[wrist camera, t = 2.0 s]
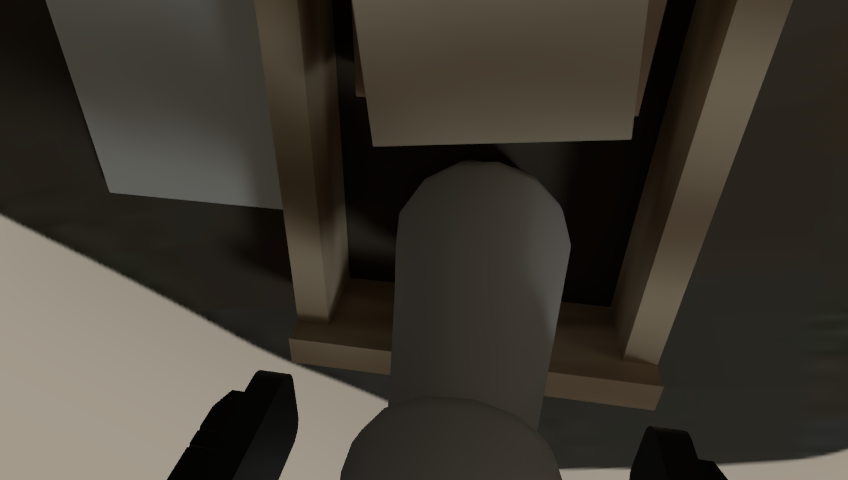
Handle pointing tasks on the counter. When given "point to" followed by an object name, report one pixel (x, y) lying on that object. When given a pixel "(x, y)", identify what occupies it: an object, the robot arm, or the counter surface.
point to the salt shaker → (470, 331)
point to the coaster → (173, 97)
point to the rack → (577, 323)
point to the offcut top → (500, 69)
